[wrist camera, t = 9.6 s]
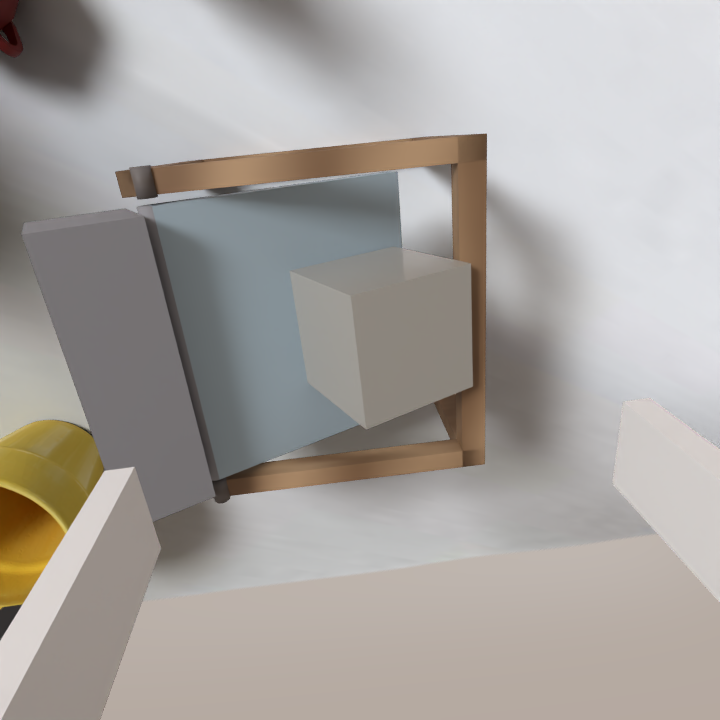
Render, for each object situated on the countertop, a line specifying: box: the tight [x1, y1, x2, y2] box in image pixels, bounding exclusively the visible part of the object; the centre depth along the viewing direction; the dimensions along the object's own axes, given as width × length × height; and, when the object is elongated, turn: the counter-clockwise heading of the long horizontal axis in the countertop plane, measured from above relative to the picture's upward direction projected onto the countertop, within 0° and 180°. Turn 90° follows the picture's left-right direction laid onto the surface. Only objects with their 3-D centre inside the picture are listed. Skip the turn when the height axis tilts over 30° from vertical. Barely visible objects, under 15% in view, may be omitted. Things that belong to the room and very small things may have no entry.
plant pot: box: [0, 420, 104, 609], centre depth 34 cm, size 10×10×10 cm
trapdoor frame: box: [115, 134, 487, 503], centre depth 29 cm, size 15×16×12 cm
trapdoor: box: [21, 171, 402, 522], centre depth 25 cm, size 17×13×5 cm
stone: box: [290, 246, 473, 430], centre depth 24 cm, size 6×6×6 cm
